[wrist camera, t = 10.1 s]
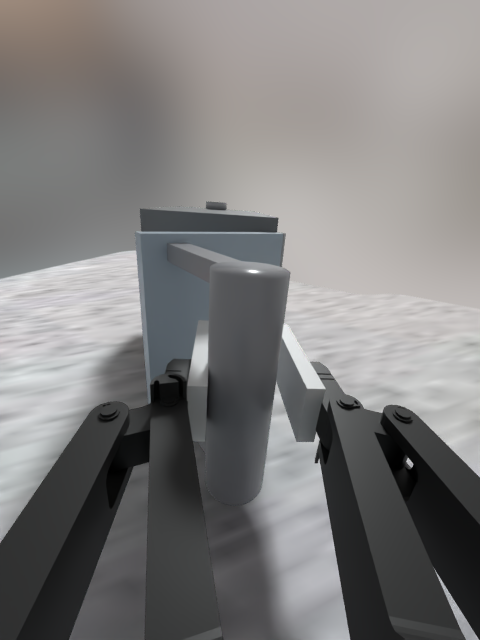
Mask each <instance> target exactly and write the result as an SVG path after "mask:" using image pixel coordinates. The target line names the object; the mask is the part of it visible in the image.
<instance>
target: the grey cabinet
mask: <svg viewBox="0 0 480 640" xmlns="http://www.w3.org/2000/svg"><path fill="white" fill-rule="evenodd" d="M226 205H227V204H226V203H218V202H206V208H193V207H161V208H143V209H140V218H141V232H277V226H278V218H277V217H273V216H270V215H266V214H262V213H258V212H253V211H238V210H226Z"/></svg>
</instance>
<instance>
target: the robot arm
mask: <svg viewBox="0 0 480 640" xmlns="http://www.w3.org/2000/svg"><path fill="white" fill-rule="evenodd" d="M208 329H209V321H207V320H198V326H197V331H196V337H195V343H194V349H193V355H192V359H173V360H171V361H170V362H169V363H168V364H167V367H166V371H165V373H164V374H161V375H159V376H157V377H155V378H154V379H153V380H152V381H151V383H150V395H151V403H150V404H148V405H146V406H144V407H140V408H136V409H131V410H129V408H128V406H127V405H126V404H124V403H122V402H107V403H104V404H101V405H99V406H97V407H96V408H94V409H93V410H92V411H91V412H90V413H89V415H88V416H87V418H86V419H85V421H84V422H83V424H82V425H81V426H80V428H79V429H78V431H77V432H76V434H75V435H74V437H73V438H72V440H71V441H70V442H69V444H68V445H67V447H66V448H65V450H64V451H63V453H62V454H61V456H60V457H59V459H58V460H57V461H56V463H55V464H54V466H53V467H52V469H51V470H50V472H49V473H48V475H47V476H46V477H45V479H44V480H43V482H42V483H41V485H40V486H39V488H38V489H37V491H36V492H35V494H34V495H33V496H32V498H31V499H30V501H29V502H28V504H27V505H26V507H25V508H24V510H23V511H22V512H21V514H20V515H19V517H18V518H17V520H16V521H15V523H14V524H13V526H12V527H11V528H10V530H9V531H8V533H7V534H6V536H5V537H4V539H3V540H2V542H1V543H0V640H69V637H70V635H71V632H72V629H73V627H74V624H75V621H76V619H77V616H78V613H79V611H80V608H81V605H82V603H83V600H84V597H85V595H86V592H87V589H88V587H89V584H90V581H91V579H92V576H93V573H94V571H95V568H96V565H97V563H98V560H99V557H100V555H101V552H102V549H103V547H104V544H105V541H106V539H107V536H108V533H109V531H110V528H111V525H112V523H113V520H114V517H115V515H116V512H117V509H118V507H119V504H120V501H121V499H122V496H123V493H124V491H125V488H126V485H127V483H128V480H129V477H130V475H131V472H132V469H133V466H136V465H140V464H143V463H147V462H149V495H148V533H147V571H146V609H145V640H223V636H222V630H221V624H220V618H219V611H218V605H217V598H216V591H215V585H214V578H213V572H212V565H211V558H210V552H209V545H208V539H207V532H206V525H205V519H204V512H203V506H202V499H201V493H200V486H199V479H198V473H197V466H196V460H195V453H194V446H193V442H205V436H206V417H207V392H208ZM276 381H277V384H278V387H279V390H280V393H281V396H282V399H283V402H284V405H285V408H286V411H287V414H288V417H289V420H290V423H291V426H292V429H293V432H294V435H295V438H296V441H297V442H314V439H315V434H316V432H317V434H318V436H319V438H320V441H319V445H318V449H317V453H316V457H315V463H318V459H319V458H320V464H321V470H322V476H323V482H324V488H325V493H326V499H327V505H328V511H329V517H330V523H331V529H332V534H333V540H334V546H335V552H336V558H337V564H338V570H339V576H340V581H341V587H342V593H343V599H344V605H345V611H346V617H347V623H348V628H349V634H350V640H466V639H465V637H464V635H463V633H462V632H461V629H460V627H459V625H458V623H457V620H456V618H455V616H454V613H453V611H452V609H451V607H450V604H449V602H448V600H447V597H446V595H445V593H444V591H443V588H442V586H441V584H440V581H439V579H438V577H437V575H436V572H437V573H438V575H439V577H440V578H441V580H442V581H443V583H444V585H445V586H446V588H447V589H448V591H449V593H450V594H451V596H452V597H453V599H454V600H455V602H456V604H457V605H458V607H459V608H460V610H461V612H462V613H463V615H464V616H465V618H466V619H467V621H468V623H469V624H470V626H471V627H472V629H473V631H474V632H475V634H476V635H477V637H478V639H479V640H480V477H479V476H478V475H477V474H476V473H475V472H474V471H473V470H472V469H471V468H470V467H469V466H468V465H467V464H466V463H465V462H464V461H463V460H462V459H461V458H460V457H459V456H458V455H457V454H456V453H455V452H454V451H452V450H451V449H450V448H449V447H448V446H447V445H446V444H445V443H444V442H443V441H442V440H441V439H440V438H439V437H438V436H437V435H436V434H435V433H434V432H433V431H432V430H431V429H430V428H429V427H428V426H427V425H426V424H425V423H424V422H423V421H422V420H421V419H420V418H419V417H418V416H417V415H416V414H415V413H413V412H412V411H410V410H408V409H407V408H405V407H401V406H398V405H388V406H386V407H385V408H384V410H383V413H379V412H374V411H370V410H366V409H364V408H363V406H362V404H361V403H360V402H359V401H358V400H357V399H355V398H354V397H352V396H349V395H346V394H344V392H343V391H342V389H341V388H340V386H339V385H338V383H337V382H336V380H334V377H333V376H332V375H331V373H330V371H329V370H328V368H327V367H325V366H324V365H323V364H321V363H320V362H310V361H309V360H308V358H307V356H306V354H305V353H304V351H303V349H302V348H301V346H300V344H299V343H298V341H297V339H296V337H295V336H294V334H293V332H292V331H291V329H290V327H289V326H288V324H284V325H283V332H282V340H281V347H280V355H279V362H278V370H277V377H276ZM407 458H409V459H410V460H411V461H412V463H413V464H414V465H413V467H412V468H411V467H410V466H409V465H408V464H407V462H406V461H407ZM433 567H434V568H433ZM434 569H435V570H436V572H435V570H434Z"/></svg>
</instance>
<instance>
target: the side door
mask: <svg viewBox="0 0 480 640" xmlns="http://www.w3.org/2000/svg"><path fill="white" fill-rule="evenodd" d="M285 236H286V234H285V233H280V232H135V237H136V252H137V265H138V278H139V291H140V304H141V317H142V330H143V343H144V356H145V369H146V382H147V395H148V404H150V403H151V395H150V383H151V381H152V380H153V379H154V378H155V377H157V376H159V375H161V374H164V373H165V371H166V367H167V364H168V363H169V362H170V361H171V360H173V359H192V355H193V349H194V343H195V337H196V331H197V326H198V320H207V321H209V329H208V392H207V417H206V436H205V442H198V444H199V445H200V447H201V448H202V450H203V451H204V453H205V454H206V464H205V482H206V486H207V489H208V491H209V493H210V494H211V495H212V496H213V497H214V498H215V499H216V500H218V501H219V502H221V503H223V504H227V505H235V506H236V505H242V504H246V503H248V502H250V501H251V500H253V499H254V498H255V497H256V496H257V495H258V493H259V492H260V490H261V487H262V482H263V474H264V467H265V459H266V452H267V444H268V437H269V429H270V422H271V415H272V407H273V400H274V392H275V385H276V377H277V370H278V362H279V355H280V347H281V340H282V332H283V325H284V317H285V310H286V303H287V295H288V288H289V280H290V272H289V271H288V270H287V269H285V268H282V261H283V252H284V244H285Z"/></svg>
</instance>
